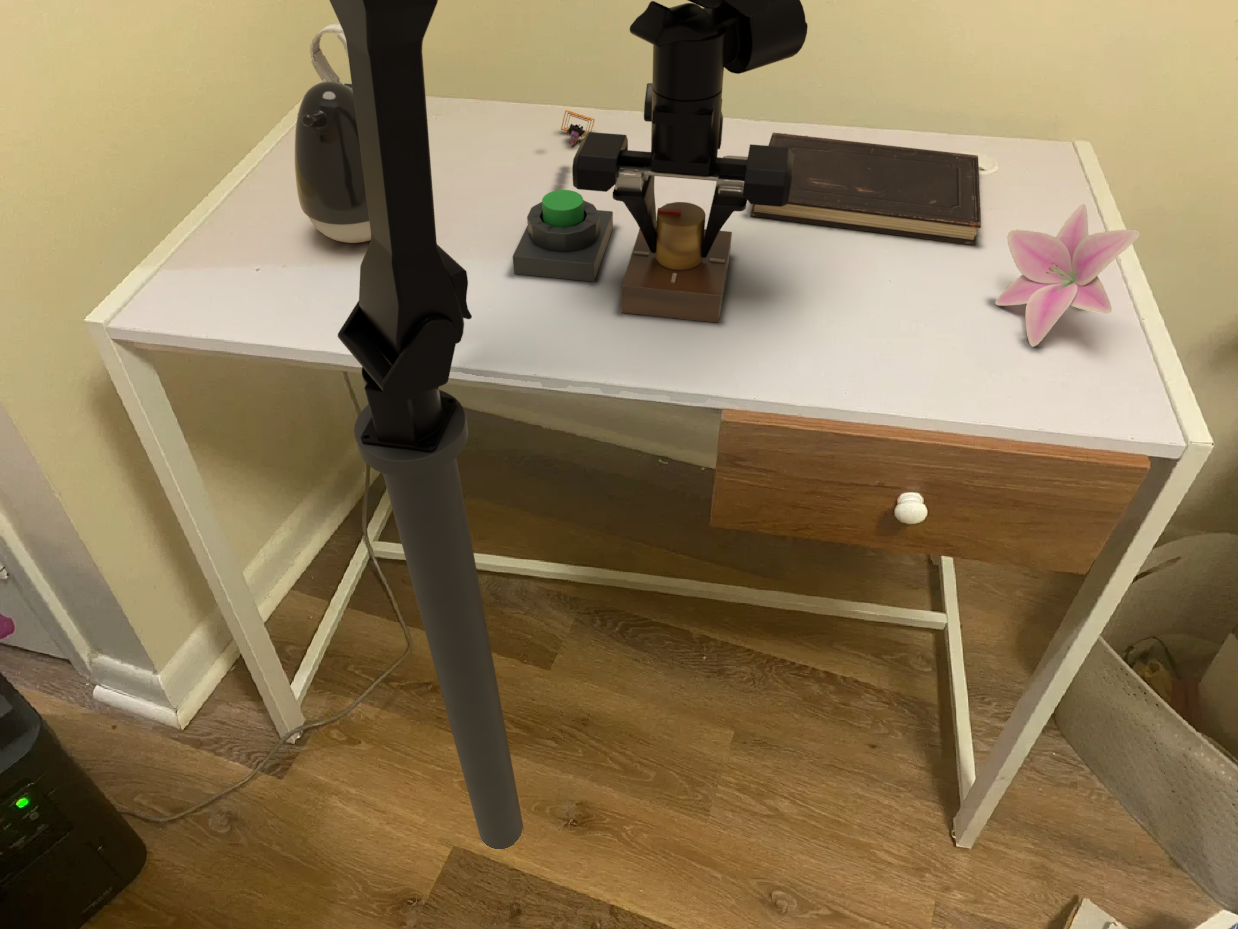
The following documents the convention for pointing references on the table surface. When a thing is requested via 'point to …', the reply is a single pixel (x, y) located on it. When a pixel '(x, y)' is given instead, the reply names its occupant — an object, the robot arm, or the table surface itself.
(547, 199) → the button
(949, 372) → the table surface
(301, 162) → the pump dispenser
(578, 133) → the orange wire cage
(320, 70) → the watch
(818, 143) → the hardcover book
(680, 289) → the panel
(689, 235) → the dial
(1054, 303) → the lily
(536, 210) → the button base
